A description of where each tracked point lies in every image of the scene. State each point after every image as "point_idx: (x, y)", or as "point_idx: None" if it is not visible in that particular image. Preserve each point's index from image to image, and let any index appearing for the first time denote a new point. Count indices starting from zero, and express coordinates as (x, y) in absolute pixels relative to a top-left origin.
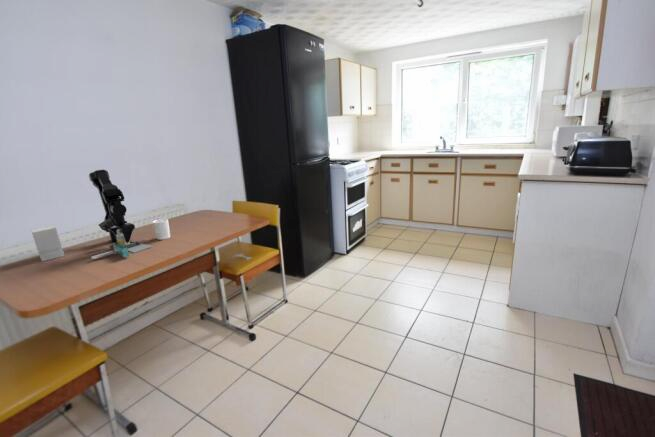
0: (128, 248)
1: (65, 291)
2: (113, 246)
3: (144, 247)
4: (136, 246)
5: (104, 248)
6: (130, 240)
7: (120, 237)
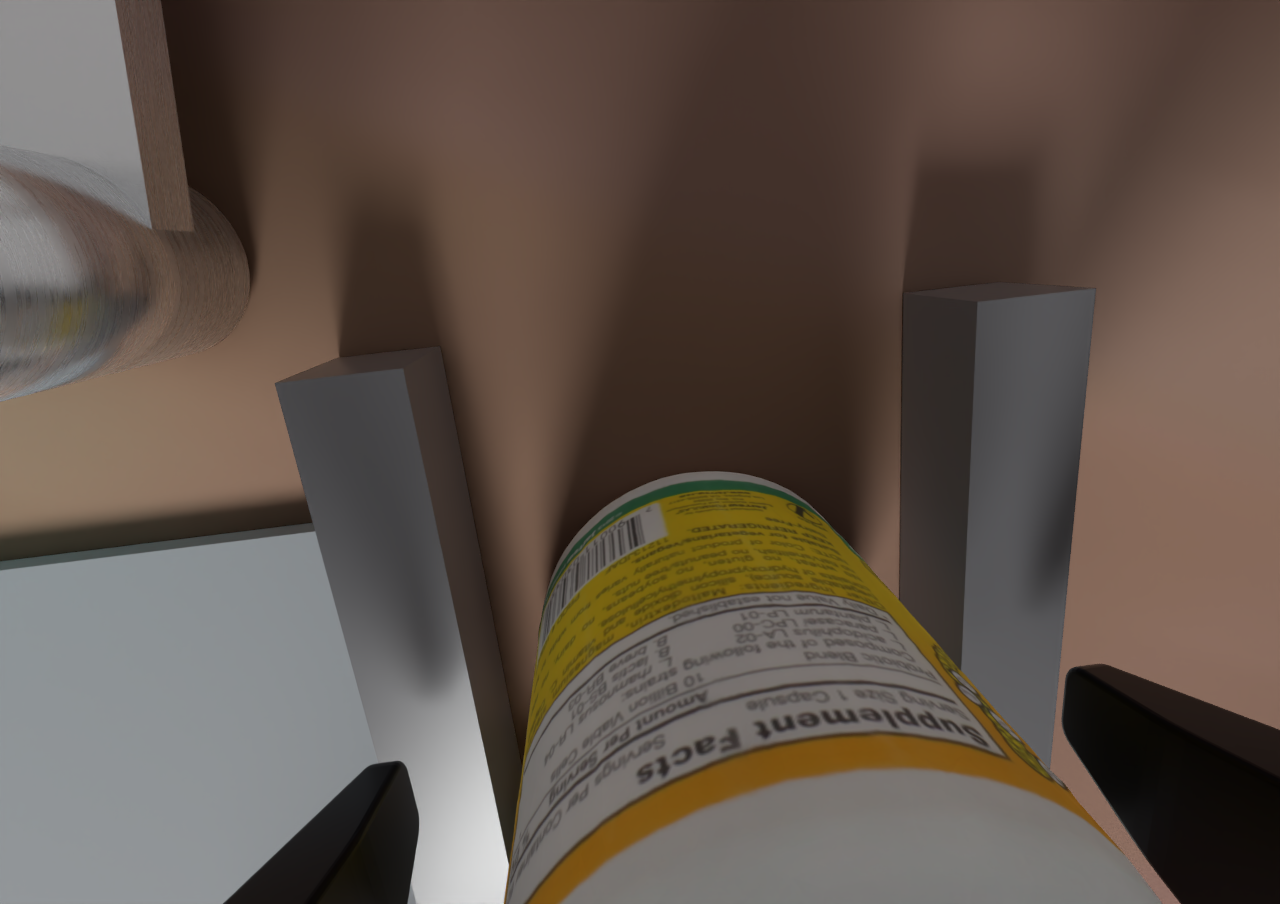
0: None
1: None
2: (938, 391)
3: (29, 900)
4: None
5: (1238, 189)
6: None
7: (541, 875)
